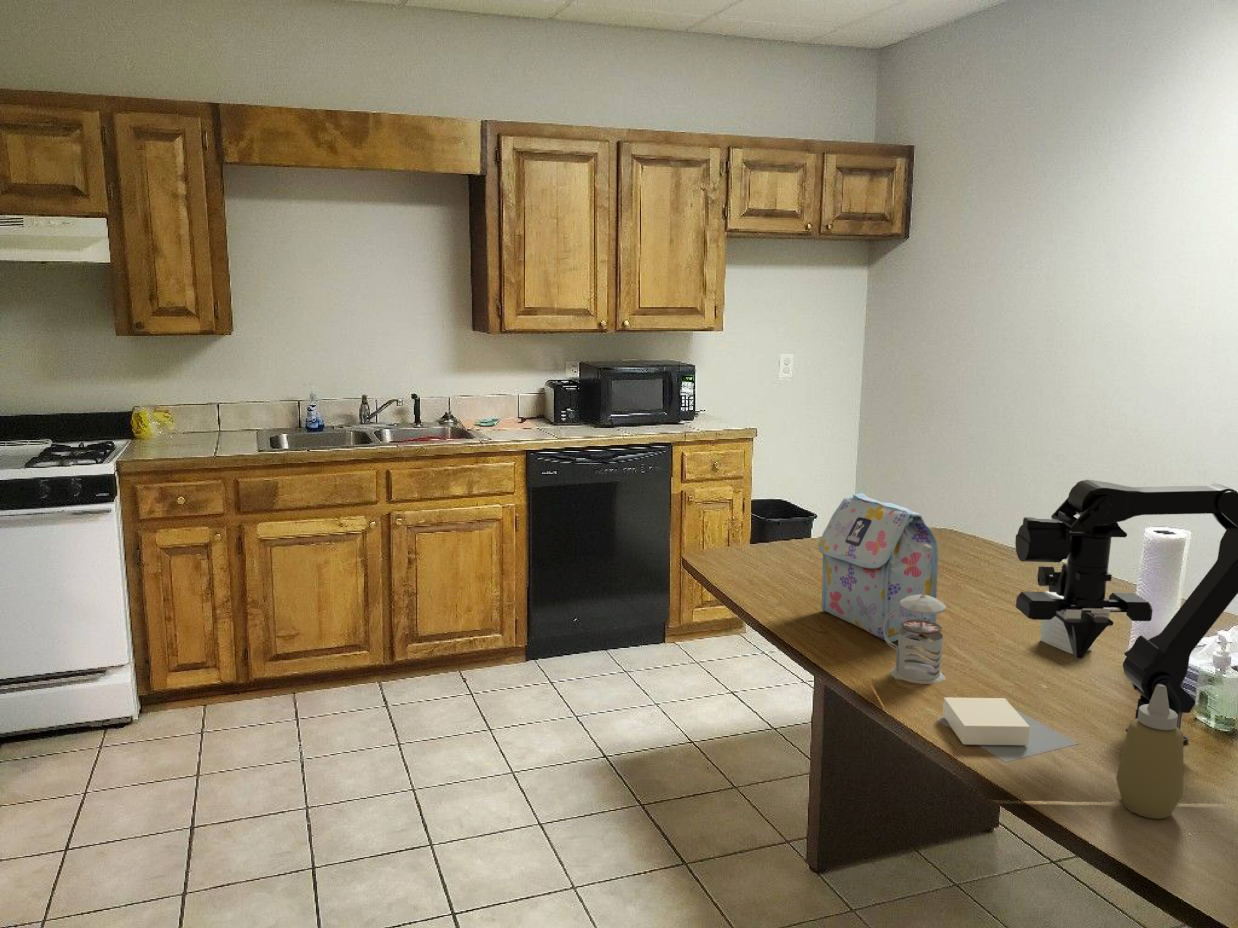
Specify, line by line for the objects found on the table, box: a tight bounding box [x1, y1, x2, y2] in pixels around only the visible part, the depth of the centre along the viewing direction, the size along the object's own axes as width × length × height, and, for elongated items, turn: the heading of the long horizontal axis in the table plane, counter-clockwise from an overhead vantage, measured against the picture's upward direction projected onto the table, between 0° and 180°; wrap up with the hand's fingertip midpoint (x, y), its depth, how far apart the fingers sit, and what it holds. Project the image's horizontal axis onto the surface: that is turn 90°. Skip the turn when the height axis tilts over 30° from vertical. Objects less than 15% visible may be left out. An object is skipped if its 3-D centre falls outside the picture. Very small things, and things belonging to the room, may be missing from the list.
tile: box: [942, 696, 1030, 746], centre depth 149 cm, size 4×10×10 cm
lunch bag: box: [817, 492, 939, 643], centre depth 196 cm, size 22×17×26 cm
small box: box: [1039, 590, 1093, 655], centre depth 185 cm, size 8×6×10 cm
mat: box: [935, 708, 1080, 763], centre depth 149 cm, size 15×15×1 cm
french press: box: [882, 545, 947, 685], centre depth 169 cm, size 10×12×25 cm
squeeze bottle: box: [1116, 684, 1184, 820], centre depth 126 cm, size 8×8×18 cm
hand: (1077, 657), depth 147 cm, fingers closed
